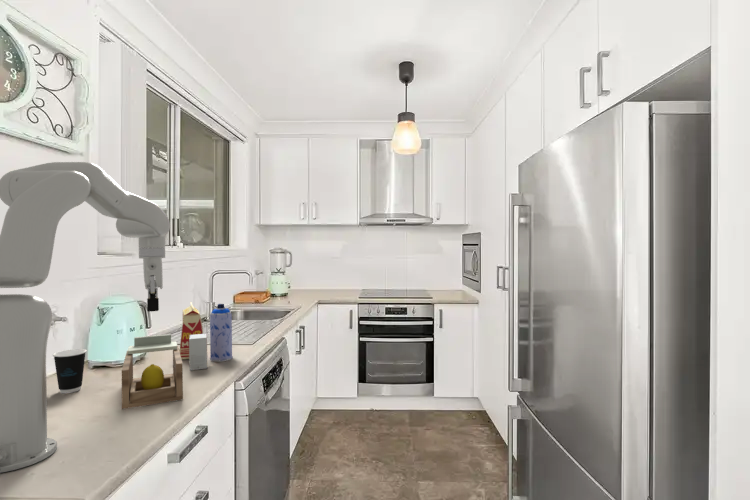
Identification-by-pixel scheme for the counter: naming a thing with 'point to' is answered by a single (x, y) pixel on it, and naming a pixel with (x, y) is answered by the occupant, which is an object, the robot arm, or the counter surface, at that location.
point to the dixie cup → (69, 369)
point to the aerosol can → (220, 334)
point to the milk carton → (189, 329)
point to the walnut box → (140, 397)
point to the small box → (198, 351)
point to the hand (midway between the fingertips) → (153, 310)
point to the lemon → (152, 377)
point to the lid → (152, 344)
